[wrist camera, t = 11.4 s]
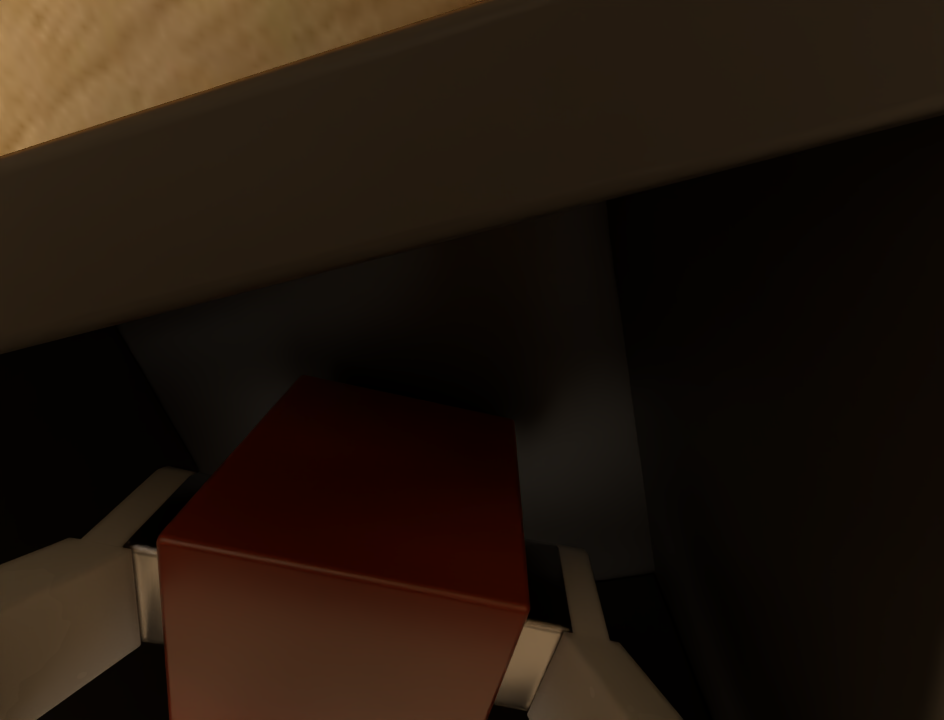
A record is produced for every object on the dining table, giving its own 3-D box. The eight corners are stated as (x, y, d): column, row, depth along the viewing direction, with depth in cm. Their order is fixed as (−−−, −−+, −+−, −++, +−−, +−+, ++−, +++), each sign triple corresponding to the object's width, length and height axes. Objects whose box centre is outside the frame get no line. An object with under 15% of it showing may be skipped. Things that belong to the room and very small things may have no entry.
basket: (625, 94, 8) (1481, -333, 1) (676, 568, 12) (917, 1102, 5) (68, 251, 10) (-1066, 496, 3) (285, 625, 14) (75, 1096, 7)
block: (515, 417, 9) (532, 610, 5) (469, 571, 10) (457, 803, 6) (301, 372, 8) (151, 537, 5) (288, 536, 10) (168, 756, 6)
